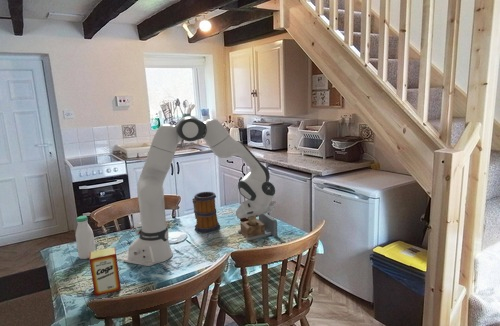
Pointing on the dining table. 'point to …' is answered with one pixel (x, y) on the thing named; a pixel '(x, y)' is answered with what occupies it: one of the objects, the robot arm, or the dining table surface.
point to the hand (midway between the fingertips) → (251, 216)
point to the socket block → (252, 228)
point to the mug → (205, 213)
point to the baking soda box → (104, 271)
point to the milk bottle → (84, 238)
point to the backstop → (266, 227)
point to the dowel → (252, 220)
